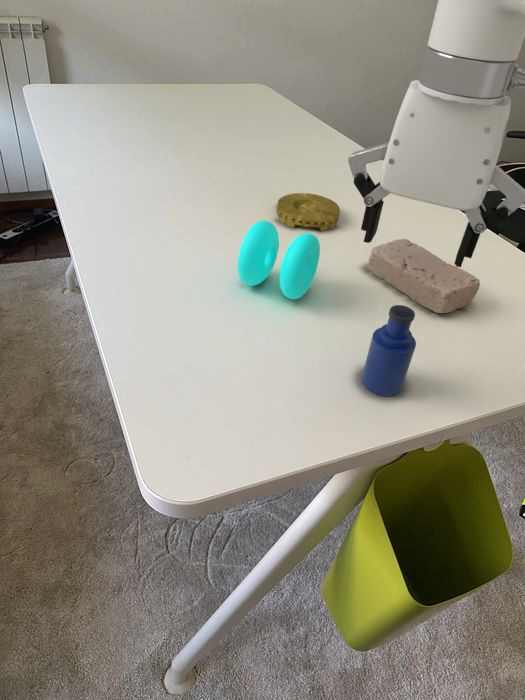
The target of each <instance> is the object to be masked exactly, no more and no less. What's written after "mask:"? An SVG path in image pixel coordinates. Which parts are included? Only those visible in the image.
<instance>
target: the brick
mask: <svg viewBox="0 0 525 700" xmlns="http://www.w3.org/2000/svg"><path fill="white" fill-rule="evenodd" d="M366 268H367V270H369V271H370V272H371V273H373V274H374V275H375V276H377V277H378V278H380V279H383V280H384V281H385V282H386V283H387V284H389V285H391V286H392V287H394V288H395V289H396V290H398V291H400V292H401V293H403V294H405V295H407V296H408V297H409V298H410V299H411V300H412V301H414V302H416V303H417V304H419V305H421V306H423V307H424V308H426V309H428V310H431V311H432V312H433V313H437V314H447V313H451V312H454V311H455V310H458V309H462V308H463V307H465V306H466V305H470V304H471V303H472V302H473V300H474V299H475V296H476V295H477V294H478V292H479V289H480V285H481V284H480V283H481V281H480V279H479V278H477V277H476V276H474V275H473V274H471V273H469V272H468V271H465V270H463V269H462V268H461V267H457V266H456V265H454V264H453V265H452V264H451V263H447V262H446V261H445V260H443V259H442V258H440V257H438V256H437V255H436V254H433V253H432V252H431V251H429V250H428V249H426V248H425V247H423V246H422V245H421V246H420V245H418V244H417V243H414V242H412V241H410V239H407V238H398V239H393V240H392V241H389V242H386V243H382V244H379V245H377V246H374V247H372V249H371V251H370V256H369V257H368V264H367V266H366Z"/></svg>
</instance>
